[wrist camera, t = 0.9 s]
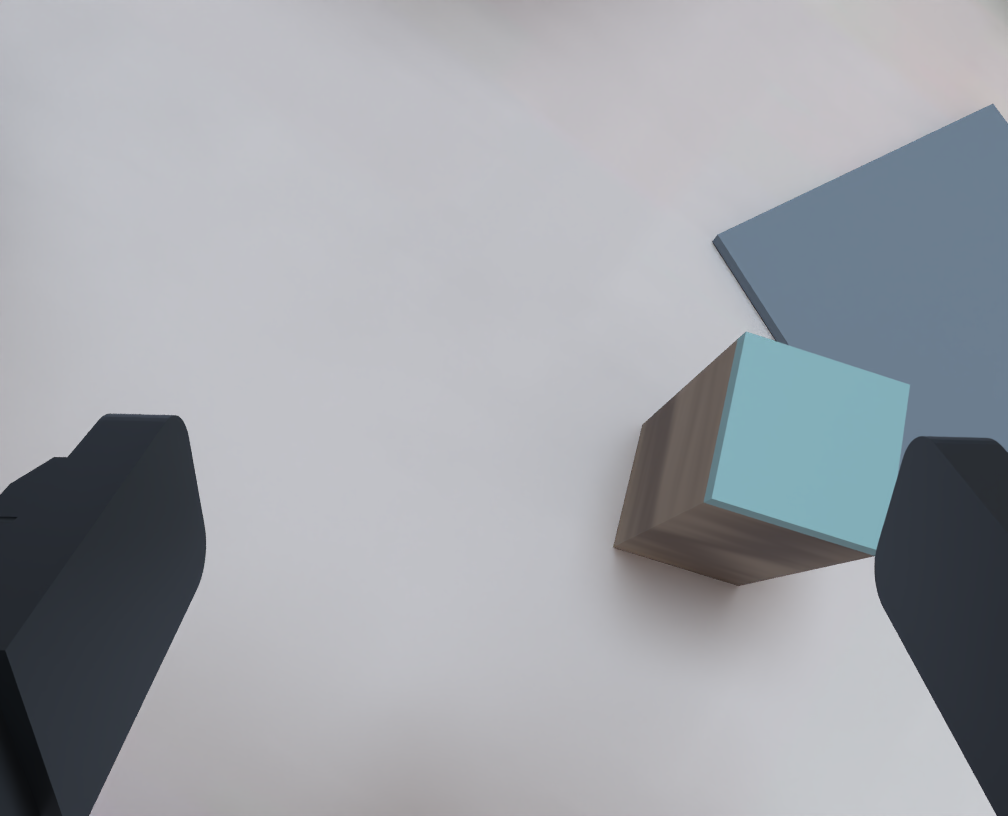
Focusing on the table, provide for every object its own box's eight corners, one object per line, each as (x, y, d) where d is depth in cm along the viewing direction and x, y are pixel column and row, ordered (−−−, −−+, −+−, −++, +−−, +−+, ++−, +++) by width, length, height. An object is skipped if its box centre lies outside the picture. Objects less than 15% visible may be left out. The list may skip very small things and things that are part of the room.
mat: (712, 241, 37) (717, 234, 36) (984, 111, 41) (992, 103, 40) (988, 671, 33) (999, 671, 33) (1256, 480, 37) (1270, 477, 37)
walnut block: (613, 547, 32) (711, 498, 23) (642, 424, 34) (745, 331, 25) (738, 585, 33) (887, 553, 23) (762, 462, 34) (910, 384, 25)
